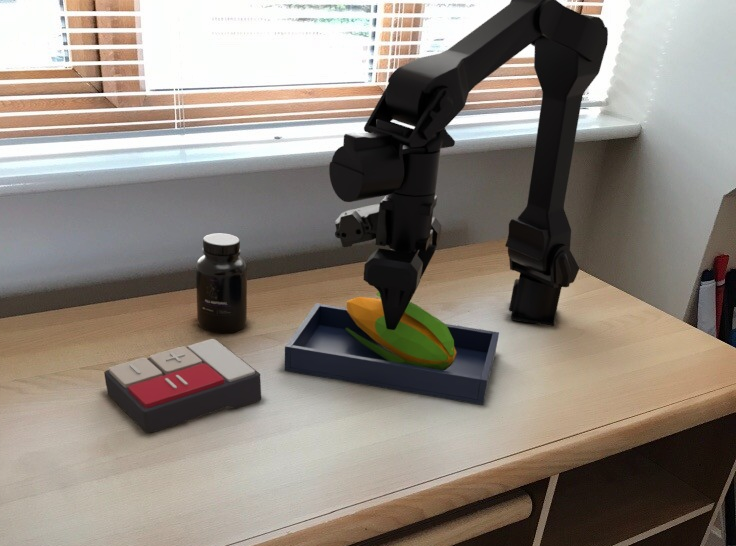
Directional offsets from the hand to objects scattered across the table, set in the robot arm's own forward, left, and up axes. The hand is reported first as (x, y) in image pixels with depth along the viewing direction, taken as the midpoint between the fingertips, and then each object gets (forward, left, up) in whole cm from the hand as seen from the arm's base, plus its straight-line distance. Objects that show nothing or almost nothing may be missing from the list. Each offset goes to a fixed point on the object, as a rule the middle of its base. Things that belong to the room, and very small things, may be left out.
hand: (398, 314), depth 108 cm
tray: (0, 0, -7) cm, 7 cm away
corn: (0, -1, -6) cm, 6 cm away
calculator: (+22, +18, -7) cm, 29 cm away
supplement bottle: (+25, -3, -7) cm, 26 cm away
